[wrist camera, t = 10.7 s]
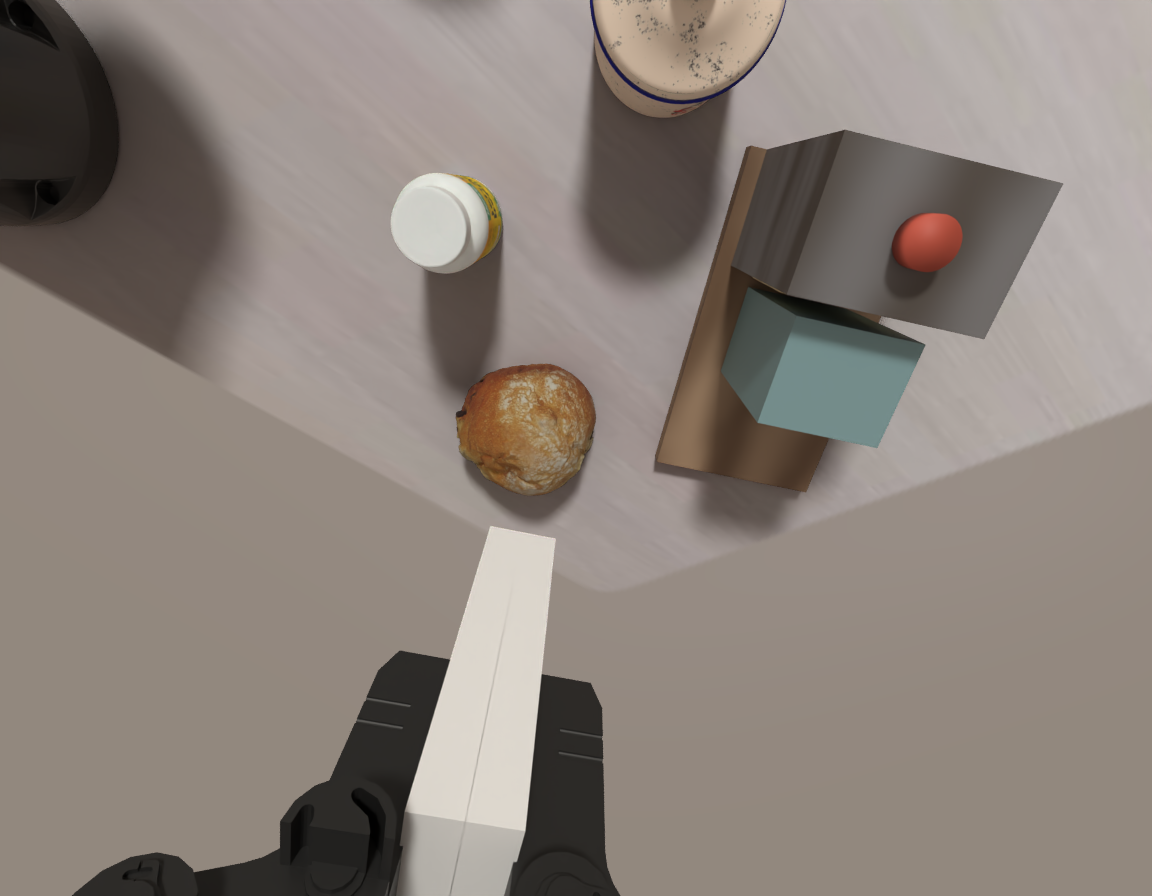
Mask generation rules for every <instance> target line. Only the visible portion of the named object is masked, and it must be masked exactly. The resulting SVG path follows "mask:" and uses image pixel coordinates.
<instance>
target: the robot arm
mask: <svg viewBox="0 0 1152 896" xmlns="http://www.w3.org/2000/svg"><path fill="white" fill-rule="evenodd" d="M117 152H118V124H117V117H116V111H115V106H114V102H113V98H112V94H111V91H110V88H109V85H108V82H107V80H106V77H105V74H104V72H103V70H102V68H101V65H100V63H99V61H98V59H97V57H96V55H95V53H94V51H93V50H92V48H91V46H90V45H89V43H88V41H87V40H86V38H85V37H84V35H83V34H82V32H81V31H80V29H79V28H78V27H77V25H76V24H75V22H74V21H73V20H72V19H71V17H70V16H69V15H68V14H67V13H66V11H65V10H64V9H63V8H62V7H61V6H60V5H59V4H58V3H57V2H56V1H55V0H0V225H3V226H32V225H50V224H56V223H61V222H65V221H68V220H70V219H73V218H75V217H77V216H79V215H81V214H82V213H84V212H85V211H87V210H88V209H89V208H91V207H92V206H93V205H94V204H95V203H96V202H97V201H98V199H99V198H100V197H101V196H102V194H103V193H104V191H105V190H106V188H107V186H108V184H109V182H110V180H111V177H112V175H113V172H114V168H115V164H116V159H117ZM554 548H555V538H549V537H544V536H539V535H534V534H529V533H524V532H519V531H513V530H508V529H503V528H498V527H493V526H490V530H489V533H488V536H487V540H486V543H485V547H484V550H483V553H482V556H481V560H480V563H479V566H478V570H477V573H476V576H475V580H474V583H473V586H472V590H471V593H470V596H469V600H468V603H467V606H466V609H465V613H464V616H463V619H462V623H461V626H460V629H459V633H458V636H457V640H456V643H455V646H454V649H453V653H452V656H451V659H450V660H449V659H443V658H438V657H432V656H427V655H421V654H416V653H410V652H405V651H399V652H398V653H397V654H395V655H394V656H393V657H392V658H391V659H390V660H389V661H388V662H387V663H386V664H385V665H384V666H383V667H381V668H380V669H379V670H378V672H377V675H376V677H375V679H374V681H373V684H372V686H371V688H370V691H369V693H368V695H367V698H366V701H365V702H364V704H363V706H362V708H361V711H360V713H359V715H358V718H357V721H356V723H355V724H354V726H353V729H352V731H351V733H350V735H349V738H348V740H347V742H346V744H345V747H344V749H343V751H342V753H341V756H340V758H339V760H338V762H337V765H336V767H335V769H334V771H333V774H332V776H331V778H330V780H329V781H327V782H324V783H321V784H318V785H316V786H314V787H313V788H311V789H310V790H309V791H307V792H306V793H305V794H303V795H302V796H301V797H299V798H298V799H297V800H295V802H294V803H293V804H292V806H291V807H290V808H289V810H288V811H287V813H286V814H285V815H284V817H283V818H282V820H281V821H280V849H278V850H276V851H274V852H272V853H270V854H268V855H266V856H264V857H262V858H259V859H255V860H252V861H248V862H245V863H240V864H235V865H230V866H225V867H220V868H214V869H209V870H204V871H199V872H193V869H192V868H191V867H189V866H188V865H187V864H186V863H185V862H184V861H183V860H182V859H180V858H179V857H177V856H172V855H167V854H162V853H151V854H146V855H140V856H134V857H130V858H128V859H126V860H124V861H122V862H119V863H117V864H115V865H113V866H111V867H109V868H107V869H105V870H103V871H101V872H100V873H99V874H98V875H96V876H95V877H94V878H93V879H91V880H90V881H89V882H88V883H86V884H85V885H84V886H83V887H82V888H80V889H79V890H78V891H76V892H75V893H74V895H72V896H620V894H619V893H618V891H617V889H616V888H615V886H614V884H613V882H612V879H611V876H610V874H609V871H608V868H607V862H606V854H605V824H604V779H603V763H602V761H603V741H602V736H603V730H602V707H601V705H600V703H599V700H598V698H597V696H596V694H595V692H594V689H593V687H592V685H591V683H588V682H582V681H576V680H571V679H565V678H559V677H554V676H548V675H543V674H542V663H543V655H544V645H545V634H546V626H547V616H548V605H549V596H550V586H551V576H552V567H553V558H554Z"/></svg>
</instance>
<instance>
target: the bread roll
mask: <svg viewBox="0 0 1152 896" xmlns="http://www.w3.org/2000/svg"><path fill="white" fill-rule="evenodd" d="M456 420H457V432H458V433H457V438H460V443H461V444H460V445H459V451H460V453H461V454H462V456H463V457H465V458H466V459H467V460H469V461H473V462H474V463H475V464H477V468H479V469H480V470H481V473H482V474H483V475H484V477H485V478H487V479H488V480H491V481H493V482H494V483H496V484H498V485H500V486H501V487H503V488H505V489H507V490H509V491H512V492H515V493H518V494H523V495H528V496H534V495H543V494H547V493H550V492H551V491H553V490H555V489H558V488H560V487H561V486H563V485H564V484H565V483H566V482H567V481H568V480H569V479H571V478H572V477H573V476H575V475H576V473H577V472H578V471H579V470H580V466H581V464H582V461H583V459H584V458H585V457H584V454H585V453H586V452H587V451H588V450H589V449H590V447H591V445H592V441H593V438H592V433H593V429H594V426H595V422H596V414H595V408H594V403H593V399H592V397H591V395H590V393H589V391H588V390H587V388H586V387H585V386H584V385H583V384H582V382H581V381H580V380H579V379H577V378H576V377H575V376H574V375H573V374H571V373H569V372H567V371H566V370H564V369H562V368H560V367H558V366H555V365H551V364H537V365H535V364H531V365H528V366H527V365H520V366H512V367H509V368H502V369H499V370H497V371H494V372H491V373H488V374H486V375H485V376H484V377H483V378H482V379H481V380H480V382H478V383H476V384H475V385H473V386H472V387H471V388H470V390H469V391H468V394H467V396H466V398H465V402H464V405H463V407H462V410H461V411H458V412H457V413H456Z"/></svg>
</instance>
